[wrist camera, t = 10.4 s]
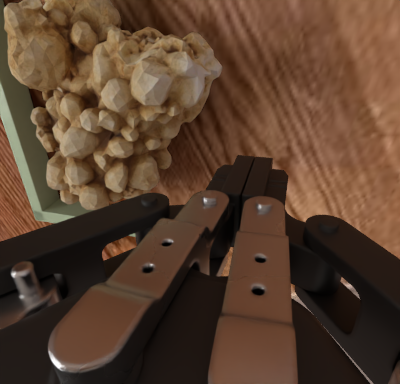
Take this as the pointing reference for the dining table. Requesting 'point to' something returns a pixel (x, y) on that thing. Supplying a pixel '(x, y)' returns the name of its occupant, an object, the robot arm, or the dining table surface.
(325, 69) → the dining table surface
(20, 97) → the frame
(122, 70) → the mineral formation
